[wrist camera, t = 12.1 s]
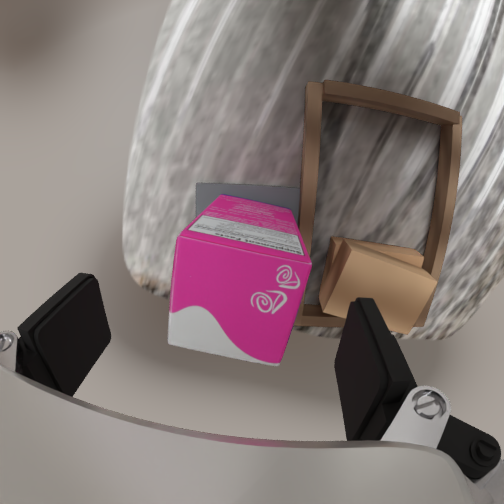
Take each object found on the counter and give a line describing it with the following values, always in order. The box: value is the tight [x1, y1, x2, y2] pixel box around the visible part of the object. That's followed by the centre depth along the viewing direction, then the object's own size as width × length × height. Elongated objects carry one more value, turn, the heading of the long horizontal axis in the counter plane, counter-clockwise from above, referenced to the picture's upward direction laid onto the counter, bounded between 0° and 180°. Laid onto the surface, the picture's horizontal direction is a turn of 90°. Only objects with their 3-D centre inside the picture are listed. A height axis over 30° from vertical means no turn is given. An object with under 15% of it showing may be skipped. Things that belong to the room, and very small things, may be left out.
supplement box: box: [168, 194, 312, 366], centre depth 18 cm, size 6×6×12 cm
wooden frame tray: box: [293, 80, 462, 327], centre depth 21 cm, size 19×13×3 cm
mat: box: [196, 183, 300, 225], centre depth 23 cm, size 8×8×1 cm
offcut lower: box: [319, 236, 424, 292], centre depth 23 cm, size 5×8×2 cm, turn 84°
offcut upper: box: [318, 239, 437, 335], centre depth 21 cm, size 5×8×2 cm, turn 73°
